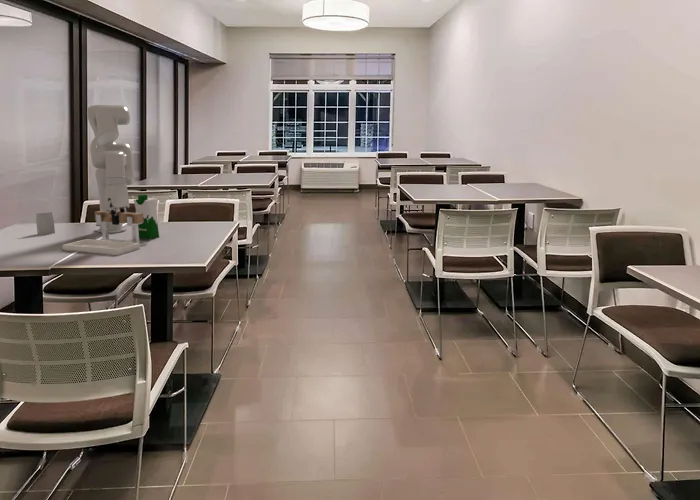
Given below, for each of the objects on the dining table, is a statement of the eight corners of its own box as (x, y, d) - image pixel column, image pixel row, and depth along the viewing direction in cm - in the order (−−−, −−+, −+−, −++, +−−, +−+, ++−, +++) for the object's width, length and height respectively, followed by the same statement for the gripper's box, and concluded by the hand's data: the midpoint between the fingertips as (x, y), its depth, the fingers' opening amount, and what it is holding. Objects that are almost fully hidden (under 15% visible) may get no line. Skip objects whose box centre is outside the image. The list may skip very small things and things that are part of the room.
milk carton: (134, 238, 276) (131, 195, 272) (146, 235, 284) (144, 193, 280) (150, 239, 273) (147, 196, 269) (162, 236, 281) (159, 193, 277)
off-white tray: (63, 250, 249) (62, 244, 249) (86, 244, 262) (86, 239, 262) (118, 255, 241) (117, 249, 240) (140, 248, 254) (139, 243, 253)
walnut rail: (95, 221, 262) (94, 211, 261) (101, 219, 266) (100, 210, 265) (137, 223, 255) (137, 214, 255) (143, 222, 259) (143, 213, 258)
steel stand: (94, 244, 263) (92, 214, 260) (105, 241, 269) (103, 212, 267) (137, 247, 256) (134, 217, 253) (147, 244, 263) (145, 214, 260)
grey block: (55, 233, 289) (53, 212, 287) (39, 235, 284) (37, 214, 282) (52, 232, 291) (50, 211, 289) (37, 233, 287) (35, 213, 285)
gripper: (122, 179, 266) (125, 220, 270) (95, 182, 250) (98, 226, 254) (136, 180, 264) (139, 221, 267) (110, 183, 248) (113, 227, 252)
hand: (119, 223), depth 261 cm, fingers closed on walnut rail, 4 cm apart
